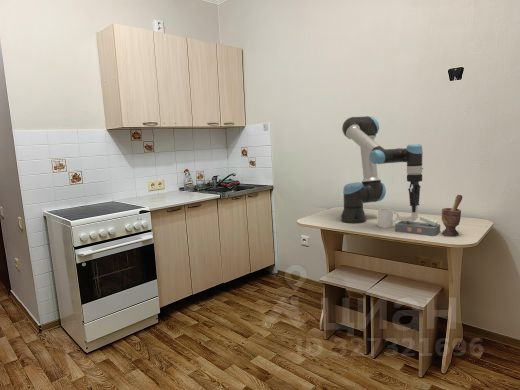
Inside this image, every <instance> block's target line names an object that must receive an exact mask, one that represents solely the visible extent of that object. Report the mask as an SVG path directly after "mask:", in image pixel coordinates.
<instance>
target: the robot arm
mask: <svg viewBox="0 0 520 390" xmlns="http://www.w3.org/2000/svg"><path fill="white" fill-rule="evenodd" d="M341 128H342V133H343V135H344V136H345V138H347V139H349V140H352V141H353V142H354V143H355V144H356V145H357V146H358V147H360V156H361V167H362V175H363V179H362V180H361V182H350V183H347V184H345V185H344V186H343V191H342V193H343V210H342V214H341V217H340V219H341V220H340V221H341V222H342V223H346V224H347V223H348V224H361V223H364V222H367V217H366V213H365V211H364V204H366V203H367V204H368V203H377V202H381V201H383V200H384V198H385V197H386V192H387V189H386V186H385V184H384V183H382V181H381V179H380V178H379V176H378V167H377V165H382V164H394V163H406V173H407V174H406V182H410V184H409V188H408V194H409V196H408V197H409V206H410V207H411V217H412V218H416V219H418V217H419V215H418V214H419V213H418V212H419V211H418V210H419V208H418V207H419V206H420V195H421V185H420V182H422V181H423V169H424V167H423V154H424V153H423V145H422V144H420V143H418V144H414V143H413V144H407V145H406V148H401V147H397V148H389V149H387V148H384V147H383V146H381V145H380V144H379V143H378V142H376V141H375V139H376V138H377V134H378V133H379V130H380V125H379V121H378V119H377V118H376V117H374V116H367V115H365V116H351V117H348V118H347V119H345V121H343V123H342V127H341Z"/></svg>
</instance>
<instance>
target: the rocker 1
mask: <svg viewBox="0 0 520 390" xmlns="http://www.w3.org/2000/svg"><path fill="white" fill-rule="evenodd" d="M397 221H399V222H400V221H411V222H416V221H417V218H412V216H405V215H399V217H398V220H397Z"/></svg>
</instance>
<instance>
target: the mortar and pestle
mask: <svg viewBox="0 0 520 390" xmlns="http://www.w3.org/2000/svg"><path fill="white" fill-rule="evenodd" d="M462 201H463V195H462V194H457V195H456V196H455V199H454V203H453V206H452V207H444V208H443V207H442V208H441V221H442V223H443V226H444V227H445V229H444V230H442V233H441V235H443V236H448V237H449V236H450V237H456V236H457V237H458V236H459V235H460V234H459V232H458V230H457V227H458V226H459V225H460V222H461V218H462V217H461V216H462V210H461V209H459V208H458V207H459V206H460V204H461V202H462Z"/></svg>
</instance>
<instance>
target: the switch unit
mask: <svg viewBox="0 0 520 390" xmlns="http://www.w3.org/2000/svg"><path fill="white" fill-rule="evenodd" d="M394 225H395V228H394V229H395V230H394V231H395V232H398V233H406V234H413V235H422V236H432V237H435V236H437V235H438V234H439V233H440V232H441V224H440V223H437V225H436V226H433V225H431V224H428V223H426V222H419V221H414V222H413V221H399V222H397V223H395V224H394Z"/></svg>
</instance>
